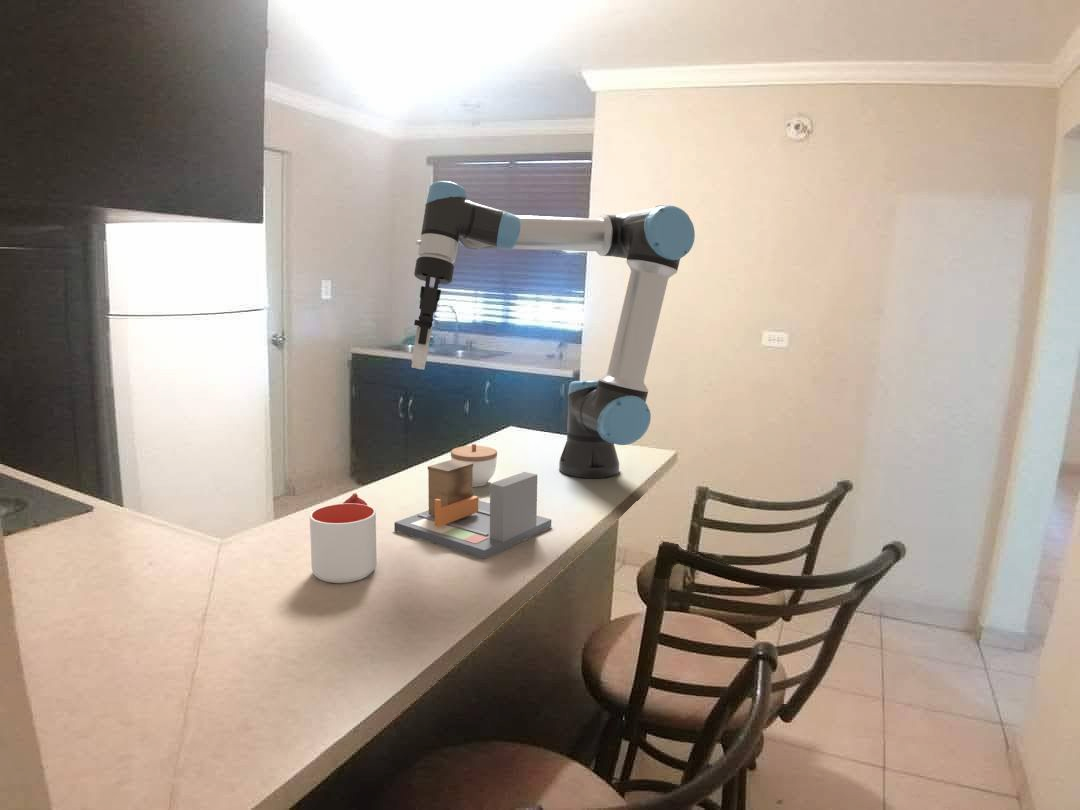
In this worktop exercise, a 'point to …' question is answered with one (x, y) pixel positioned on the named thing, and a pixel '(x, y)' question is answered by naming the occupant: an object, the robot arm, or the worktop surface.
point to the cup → (343, 542)
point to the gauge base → (486, 520)
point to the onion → (355, 500)
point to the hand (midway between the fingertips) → (418, 365)
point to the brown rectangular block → (449, 483)
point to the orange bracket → (454, 510)
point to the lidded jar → (477, 462)
